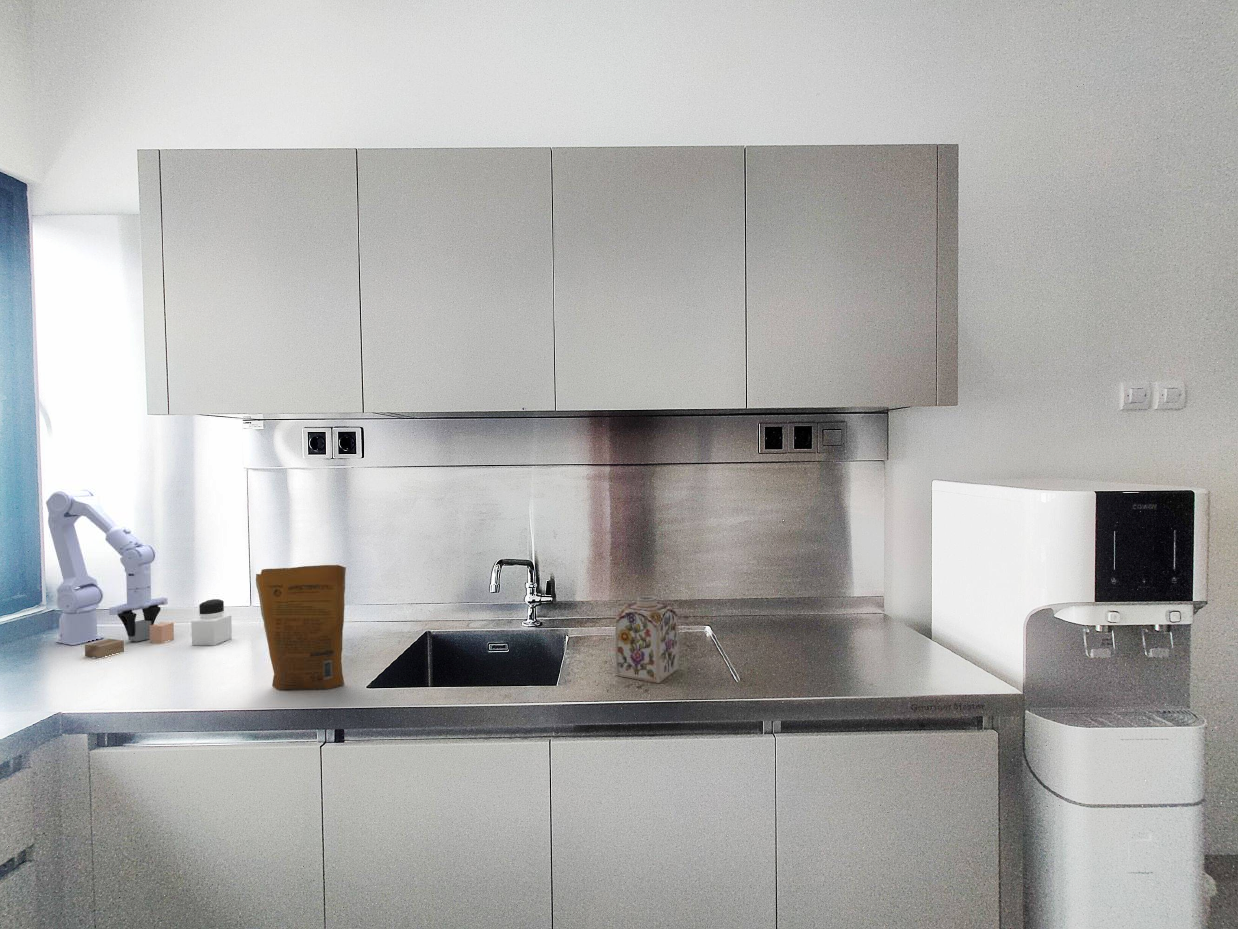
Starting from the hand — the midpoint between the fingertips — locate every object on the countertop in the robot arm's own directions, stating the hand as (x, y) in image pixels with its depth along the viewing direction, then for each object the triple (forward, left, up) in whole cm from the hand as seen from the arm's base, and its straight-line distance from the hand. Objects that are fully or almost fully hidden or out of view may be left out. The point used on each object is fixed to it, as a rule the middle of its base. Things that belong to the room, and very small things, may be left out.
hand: (139, 634), depth 188 cm
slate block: (0, 0, -2) cm, 2 cm away
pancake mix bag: (+80, -9, -2) cm, 80 cm away
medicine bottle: (+22, +7, -2) cm, 23 cm away
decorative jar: (+148, +30, -2) cm, 151 cm away
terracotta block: (+7, +2, -2) cm, 8 cm away
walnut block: (+6, -12, -2) cm, 14 cm away
